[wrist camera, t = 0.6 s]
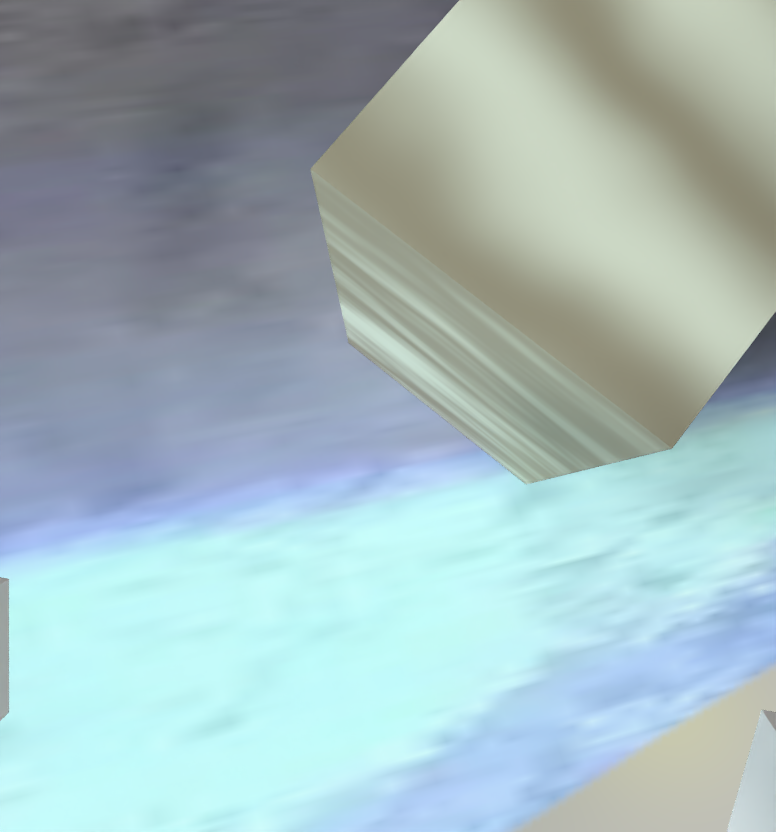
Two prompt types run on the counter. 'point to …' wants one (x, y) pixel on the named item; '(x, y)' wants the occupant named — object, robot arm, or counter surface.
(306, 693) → the counter surface
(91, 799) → the counter surface
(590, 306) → the step stand
